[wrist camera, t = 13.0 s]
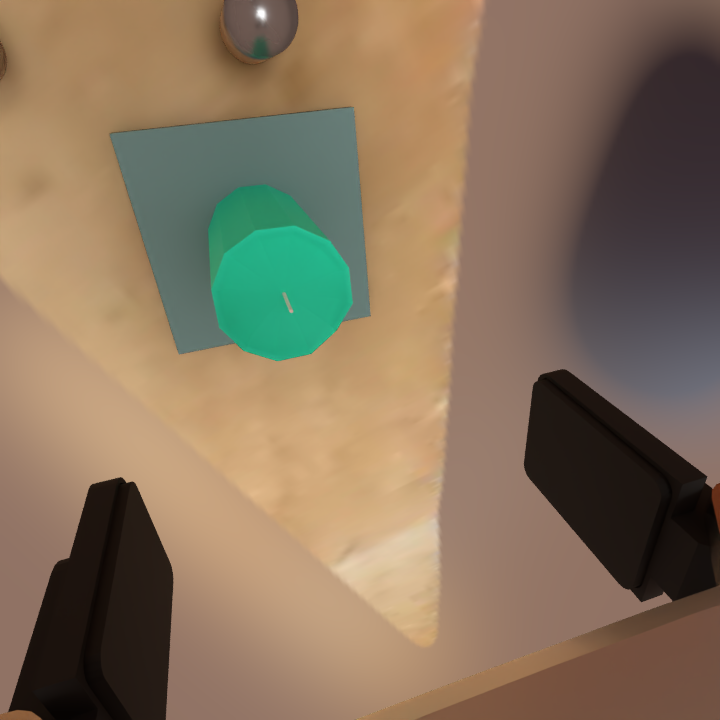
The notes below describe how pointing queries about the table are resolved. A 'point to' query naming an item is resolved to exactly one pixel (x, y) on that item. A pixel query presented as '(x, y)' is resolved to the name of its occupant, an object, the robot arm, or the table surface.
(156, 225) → the mat
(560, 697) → the robot arm
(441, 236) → the table surface
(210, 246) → the candle
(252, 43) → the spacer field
